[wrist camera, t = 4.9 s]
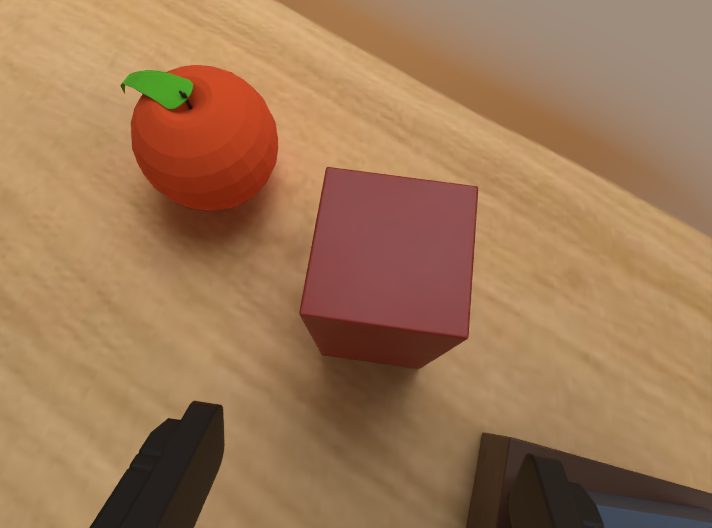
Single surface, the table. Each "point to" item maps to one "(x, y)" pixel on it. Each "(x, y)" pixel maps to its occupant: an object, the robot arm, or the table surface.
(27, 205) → the table surface
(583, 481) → the walnut block
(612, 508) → the slate block
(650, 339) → the table surface
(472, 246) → the tall red block
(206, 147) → the clementine
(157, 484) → the robot arm
